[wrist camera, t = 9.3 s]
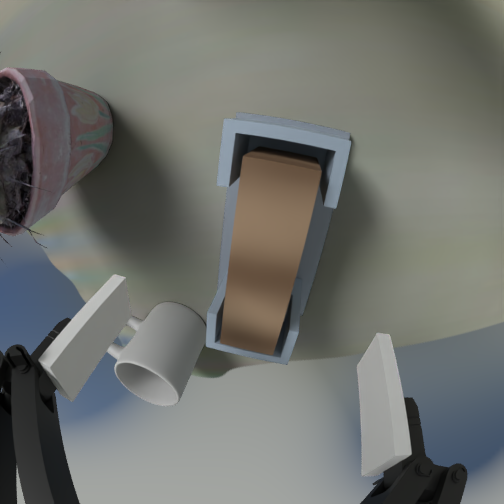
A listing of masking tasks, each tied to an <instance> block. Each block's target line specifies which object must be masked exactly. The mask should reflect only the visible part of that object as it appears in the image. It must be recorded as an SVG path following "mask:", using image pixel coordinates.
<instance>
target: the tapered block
mask: <svg viewBox="0 0 504 504" xmlns="http://www.w3.org/2000/svg"><path fill="white" fill-rule="evenodd" d="M321 173H322V171H321V168H320V165H319V162H318V159H317V157H312V156H308V155H303V154H298V153H293V152H288V151H283V150H278V149H273V148H267V147H261V146H259V147H257V148H255V149H254V150H252V151H250V152H249V153H247V154H246V155H244V156H243V159H242V166H241V174H240V181H239V188H238V196H237V203H236V211H235V218H234V226H233V234H232V242H231V250H230V258H229V267H228V275H227V284H226V292H225V301H224V310H223V319H222V329H221V338H220V343H221V344H225V345H229V346H233V347H237V348H241V349H245V350H250V351H254V352H259V353H263V354H268V355H273V353H274V350H275V347H276V344H277V340H278V337H279V334H280V331H281V327H282V324H283V321H284V317H285V314H286V310H287V307H288V303H289V300H290V296H291V293H292V289H293V286H294V282H295V278H296V275H297V271H298V267H299V264H300V260H301V256H302V252H303V248H304V244H305V241H306V237H307V233H308V229H309V225H310V220H311V216H312V212H313V208H314V204H315V200H316V195H317V191H318V186H319V182H320V177H321Z"/></svg>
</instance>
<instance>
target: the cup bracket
mask: <svg viewBox="0 0 504 504" xmlns="http://www.w3.org/2000/svg"><path fill="white" fill-rule="evenodd" d="M349 138H350V133H349V132H345V131H341V130H337V129H332V128H328V127H324V126H319V125H314V124H310V123H305V122H300V121H294V120H289V119H283V118H277V117H270V116H264V115H256V114H249V113H240V112H237V113H236V119H224V125H223V133H222V141H221V150H220V158H219V168H218V177H217V186H223V187H227V193H226V203H225V212H224V222H223V232H222V242H221V253H220V264H219V275H218V287H217V293H216V295H215V297H214V299H213V301H212V304H211V306H210V308H209V310H208V312H207V328H206V347H209V348H213V349H217V350H221V351H225V352H229V353H233V354H237V355H242V356H246V357H251V358H255V359H260V360H265V361H270V362H275V363H280V364H286V365H287V364H288V361H289V359H290V356H291V353H292V351H293V348H294V345H295V342H296V339H297V337H298V334H299V324H300V315H301V316H303V313H304V309H305V306H306V303H307V300H308V297H309V294H310V291H311V287H312V284H313V281H314V277H315V274H316V271H317V267H318V264H319V260H320V257H321V253H322V250H323V246H324V243H325V239H326V235H327V232H328V228H329V224H330V220H331V216H332V213H333V209H334V208H335V209H336V207H337V203H338V199H339V195H340V191H341V187H342V183H343V178H344V174H345V170H346V165H347V161H348V156H349V151H350V146H351V141H349ZM259 146H261V147H267V148H273V149H278V150H283V151H288V152H293V153H298V154H303V155H308V156H312V157H317V159H318V162H319V165H320V168H321V171H322V173H321V177H320V182H319V186H318V191H317V195H316V200H315V204H314V208H313V212H312V216H311V220H310V225H309V229H308V233H307V237H306V241H305V244H304V248H303V252H302V256H301V260H300V264H299V267H298V271H297V275H296V278H295V282H294V286H293V289H292V293H291V296H290V300H289V303H288V307H287V310H286V314H285V317H284V321H283V324H282V327H281V331H280V334H279V337H278V340H277V344H276V347H275V350H274V353H273V355H268V354H263V353H259V352H254V351H250V350H245V349H241V348H237V347H233V346H229V345H225V344H221V343H220V338H221V329H222V319H223V310H224V301H225V292H226V284H227V275H228V267H229V258H230V250H231V242H232V234H233V226H234V218H235V211H236V203H237V196H238V188H239V181H240V174H241V166H242V159H243V156H244V155H246V154H247V153H249V152H250V151H252V150H254V149H255V148H257V147H259Z"/></svg>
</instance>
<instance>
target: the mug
mask: <svg viewBox="0 0 504 504" xmlns="http://www.w3.org/2000/svg"><path fill="white" fill-rule="evenodd" d="M126 325H127V326H130V327H132V328H133V329H134V330H135V331H136V334H135V335H134V337H133V338H132V340H131V341H130V342H129V343H128V345H127V346H126V347H122V346H119V345H117V344H115V343H114V342H113V343H112V344H111V346H110V347H109V348H108V350H107V352H108V353H109V354H111V355H112V356H113V357H115V358H116V359H117V363H116V364H115V373H116V375H117V377H118V379H119V380H120V382H121V383H122V384H123V385H124V386H125V387H126V388H127V389H128V390H130V391H131V392H132V393H134V394H135V395H136V396H138V397H140V398H142V399H144V400H146V401H148V402H150V403H153V404H157V405H161V406H173V405H175V404H177V403H178V402H179V400H180V398H181V396H182V394H183V392H184V389H185V387H186V385H187V382H188V380H189V378H190V375H191V373H192V371H193V368H194V366H195V364H196V361H197V359H198V357H199V355H200V352H201V350H202V348H203V346H204V344H205V342H206V326H205V324H204V322H203V320H202V319H201V318H200V316H199V315H198V314H197V313H195V312H194V311H193V310H191V309H190V308H188V307H186V306H184V305H182V304H179V303H175V302H163V303H160V304H158V305H156V306H155V307H154V308H153V309H152V311H151V312H150V313H149V315H148V316H147V318H146V319H145V320H144V321H143V320H141V319H139V318H137V317H134V316H131V318H130V319H129V321H128V322H127V323H126Z"/></svg>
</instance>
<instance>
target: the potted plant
mask: <svg viewBox="0 0 504 504" xmlns="http://www.w3.org/2000/svg"><path fill="white" fill-rule="evenodd" d="M0 53H1V52H0ZM112 141H113V120H112V115H111V112H110V109H109V107H108V104H107V102H106V101H105V100H104V99H103V98H101V97H100V96H99V95H97V94H96V93H94V92H92V91H89V90H86V89H83V88H81V87H78V86H75V85H71V84H68V83H65V82H61V81H58V80H56V79H55V78H54V77H52V76H51V75H50V74H49V73H47V72H46V71H43V70H34V69H24V68H10V67H7V68H5V69H3V70H1V71H0V232H1V233H4V234H7V235H11V236H16V235H19V234H22V233H24V232H25V231H26V230H29V232H30V231H31V230H30V229H29V228H30V227H31V226H32V225H33V224H35V223H36V222H37V221H39V220H40V219H41V218H42V217H44V216H45V215H46V214H48V213H49V212H50V211H52V210H53V209H54V208H55V207H56V205H57V203H58V201H59V199H60V197H61V196H62V195H63V194H64V193H65V192H66V191H67V190H69V189H70V188H71V187H72V186H73V185H75V184H76V183H77V182H78V181H79V180H81V179H82V178H83V177H84V176H85V175H87V174H88V173H89V172H90V171H92V170H93V169H94V168H96V167H97V166H98V165H99V163H100V162H101V161H102V160H103V159H104V158H105V157H106V155H107V153H108V151H109V148H110V146H111V144H112ZM32 232H34V231H32ZM30 233H31V232H30ZM35 233H36V232H35ZM38 234H39V233H38ZM31 235H32V234H31ZM41 235H42V234H41ZM0 236H1V235H0ZM1 237H2V236H1ZM32 237H33V236H32ZM33 238H34V237H33ZM3 239H4V238H3ZM4 240H5V239H4ZM34 240H35V239H34ZM5 241H6V240H5ZM6 242H7V241H6ZM35 242H36V240H35ZM7 243H8V242H7ZM36 243H37V242H36ZM38 244H39V243H38ZM39 245H41V244H39ZM41 246H42V245H41ZM43 247H44V246H43ZM45 248H46V247H45Z"/></svg>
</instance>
